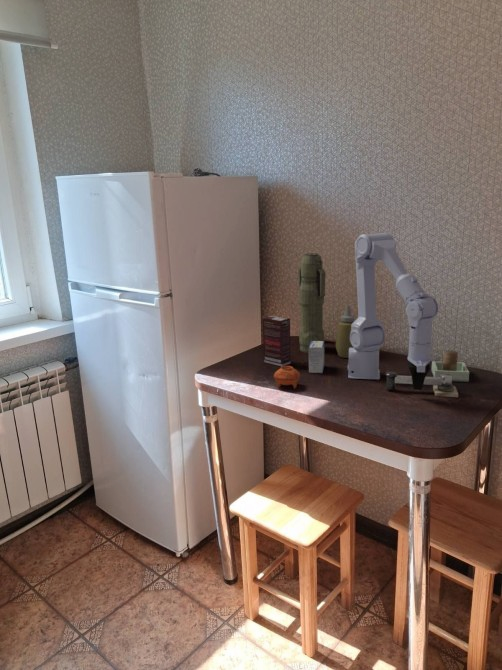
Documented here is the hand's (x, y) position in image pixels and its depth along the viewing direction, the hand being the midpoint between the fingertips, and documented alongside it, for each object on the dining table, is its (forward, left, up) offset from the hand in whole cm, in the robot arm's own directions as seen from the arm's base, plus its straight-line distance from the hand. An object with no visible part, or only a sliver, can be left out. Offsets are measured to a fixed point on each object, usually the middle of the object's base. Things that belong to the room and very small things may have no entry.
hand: (417, 388), depth 148 cm
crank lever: (0, +5, -2) cm, 5 cm away
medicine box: (-30, +21, -3) cm, 37 cm away
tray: (+11, +20, -3) cm, 23 cm away
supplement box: (-44, +26, -3) cm, 51 cm away
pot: (-37, +4, -3) cm, 37 cm away
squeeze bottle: (-21, +37, -3) cm, 43 cm away
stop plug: (+11, +20, -2) cm, 23 cm away
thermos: (-34, +43, -3) cm, 55 cm away
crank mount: (+3, +10, -3) cm, 11 cm away
